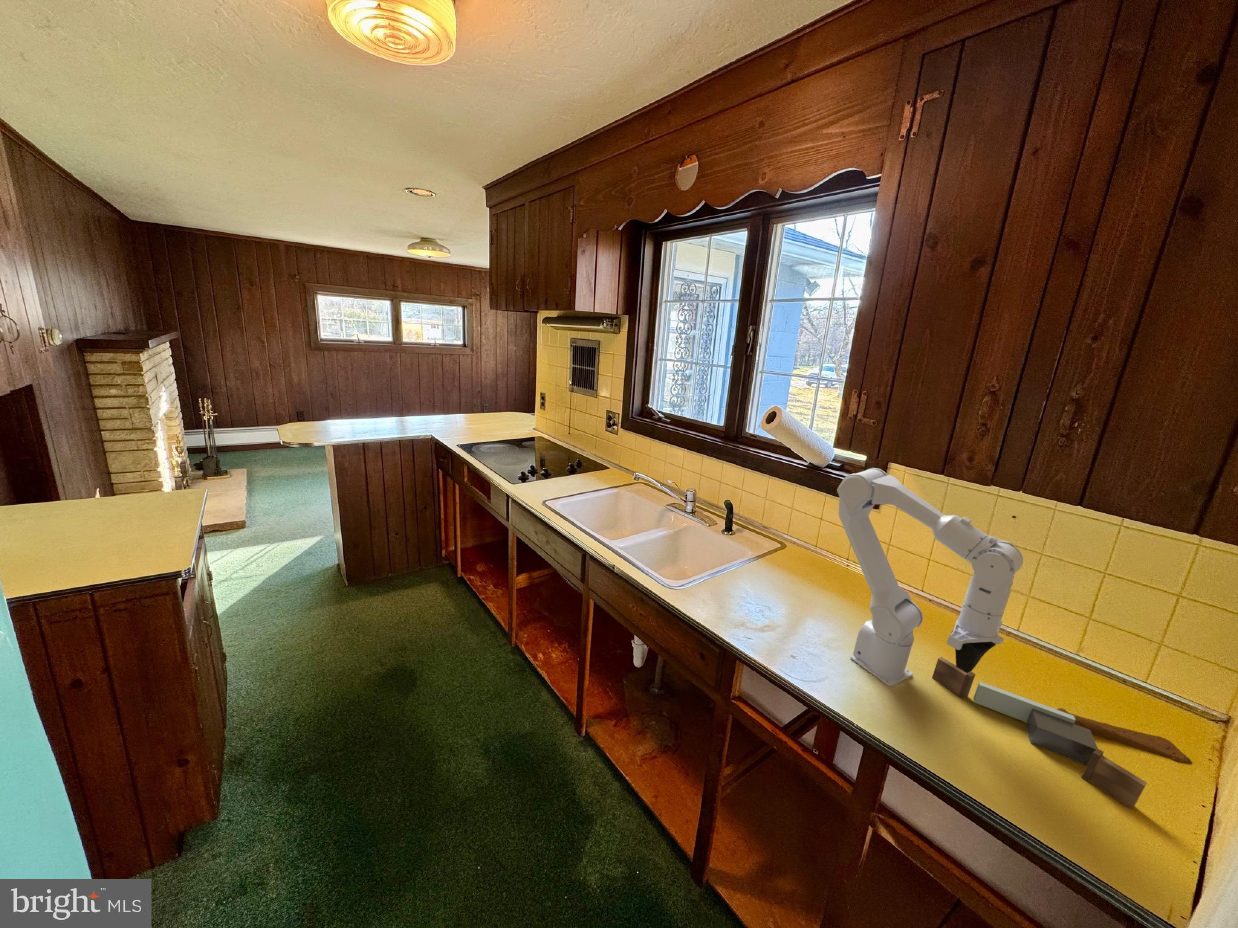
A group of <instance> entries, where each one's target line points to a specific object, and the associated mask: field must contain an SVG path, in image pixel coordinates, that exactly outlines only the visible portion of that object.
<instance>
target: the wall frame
mask: <svg viewBox="0 0 1238 928" xmlns="http://www.w3.org/2000/svg"><path fill="white" fill-rule="evenodd" d="M975 678H976V673H975V672H973V671H971V672H969V673H966V672H964V671H963V670H961V669H959V668H958V667H956V664H954V663H953V662H951V661H950V660H948V659H946V658H944V657H943V656H939V657H938V658H937V661H936V664H935V667H934V670H933V673H932V676H931V679H933V680H934V681H936V682H938V683H939V684H940V685H942V686H944V687H945V688H947V689H948V690H950V691H952V692H953V693H954V694H956V695H958V697H959V698H961V699H962V700H964V699H965V698H967V697H969V693H970V691H971V689H972V686H973V682H974V679H975ZM1104 753H1105V752H1104V751H1103V750H1101V749H1100V748H1099V747H1097V749H1096V750H1095V751H1094V752H1093V753H1092V756H1091V758H1090V760H1089V762H1088V764H1087V766H1086V765H1085V768H1084V770H1083V772H1082V775H1081V776H1080V777H1081V779H1083V780H1084V781H1086V782H1089V783H1091V784H1092V785H1094V786H1096V787H1097V788H1099V789H1100V790H1101V791H1102V792H1105V794H1108V795H1109V796H1110V797H1112V798H1114V799H1115V800H1117V801H1118V802H1120V803H1121V804H1123V805H1124V806H1126V807H1128V808H1129V809H1130V810H1133V808H1134V807H1135V806H1136V804H1137V803H1138V800H1139V798H1140V797H1141V795H1142V793H1143V792H1144V789H1145V788H1146V786H1147V783H1148V782H1147V781H1145V780H1144V779H1142V778H1140V777H1138V775H1135V774H1134V773H1132V772H1130V770H1127V769H1125V768H1124V767H1122V766H1121V765H1119V764H1118V763H1116V762H1114V761H1112V760H1111V759H1110V758H1108V757H1107V756H1106V757H1105V756H1104Z"/></svg>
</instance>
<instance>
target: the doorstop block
mask: <svg viewBox="0 0 1238 928" xmlns="http://www.w3.org/2000/svg"><path fill="white" fill-rule="evenodd" d="M1025 727H1026V731H1027V732H1026V733H1027V735H1028V739H1029V742H1030V744H1031V745H1033V746H1036V747H1039V748H1041V749H1044V750H1046V751H1049V752H1052V753H1053V754H1056V755H1059V756H1061V757H1064V758H1066V759H1068V760H1071V761H1074V762H1076V763H1079V764H1081V765H1084V766H1085V767H1086V766H1087V764H1088V762H1089V760H1090V758H1091V756H1092V753H1093V752H1094V751H1095V750H1096V749H1097V748H1098V745H1097V743H1096V741H1095V738H1094V734H1092V733H1091V731H1090V730H1089V729H1086V728H1084V727H1081V726H1078V725H1076V724H1073V723H1070V722H1068V721H1065V720H1062V719H1059V718H1057V717H1054V716H1051V715H1049V714H1046V713H1043V712H1041V711H1038V710H1035V709H1032V711H1031V713H1030V715H1029V718H1028V720H1027V723H1026V722H1025Z"/></svg>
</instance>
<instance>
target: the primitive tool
mask: <svg viewBox="0 0 1238 928" xmlns="http://www.w3.org/2000/svg"><path fill="white" fill-rule="evenodd" d="M1056 710H1059V711H1062V712H1065V713H1067V714H1070V715H1073V716H1074V717H1075V720H1076V721H1075V723H1074V724H1076V725H1078V726H1081V727H1084V728H1086V729H1089V730H1090V731H1091V733H1092V735H1093V736H1098V737H1101V738H1104V739H1108V740H1111V741H1114V742H1118V743H1121V744H1123V745H1127V746H1131V747H1133V748H1136V749H1140V750H1142V751H1147V752H1149V753H1153V754H1156V755H1158V756H1162V757H1165V758H1168V759H1171V760H1173V761H1174V762H1180V763H1181V764H1186V765H1187V764H1189V765H1191V764H1192V763H1193V762H1192V760H1191V759H1190V758H1189V756H1187V755H1186V754H1185V753H1184V752H1182V751H1181V750H1180V749H1179V748H1178V747H1177V746H1176V745H1175V744H1174V743H1173V742H1172V741H1171V740H1170V739H1167V738H1165V737H1162V736H1159V735H1154V734H1150V733H1149V734H1148V733H1144V732H1140V731H1137V730H1133V729H1128V728H1125V727H1120V726H1116V725H1112V724H1110V723H1105V722H1101V721H1097V720H1094V719H1090V718H1087V717H1085V716H1084V717H1083V716H1080V715H1077V714H1074V713H1071V712H1069V711H1067V710H1066V709H1064V708H1063V707H1060V708H1059V707H1058V708H1056Z"/></svg>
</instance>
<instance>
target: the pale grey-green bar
mask: <svg viewBox="0 0 1238 928" xmlns="http://www.w3.org/2000/svg"><path fill="white" fill-rule="evenodd" d="M972 699H973V703H975V704H977V705H980V706H982V707H985V708H988V709H990V710H993V711H995V712H998V713H1001V714H1003V715H1006V716H1008V717H1011V718H1013V719H1017V720H1020V721H1022V722H1025V724H1026V723H1027V720H1028V718H1029V715H1030V713H1031V711H1032V709H1035V710H1038V711H1041V712H1043V713H1046V714H1049V715H1051V716H1054V717H1057V718H1059V719H1062V720H1065V721H1068V722H1070V723H1073V724H1074V723H1075V721H1076V720H1075V717H1074V716H1073V715H1070V714H1067V713H1065V712H1062V711H1059V710H1057V708H1053V707H1051V706H1049V705H1046V704H1043V703H1040V702H1037V701H1034V700H1031V699H1028V698H1026V697H1023V696H1020V695H1018V694H1015V693H1012V692H1010V691H1007V690H1005V689H1002V688H999V687H995V686H994V685H990V684H987V683H985V682H982V681H980V680H979V681H978V684H977V687H976V690H975V691H974V694H973V698H972Z"/></svg>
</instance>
